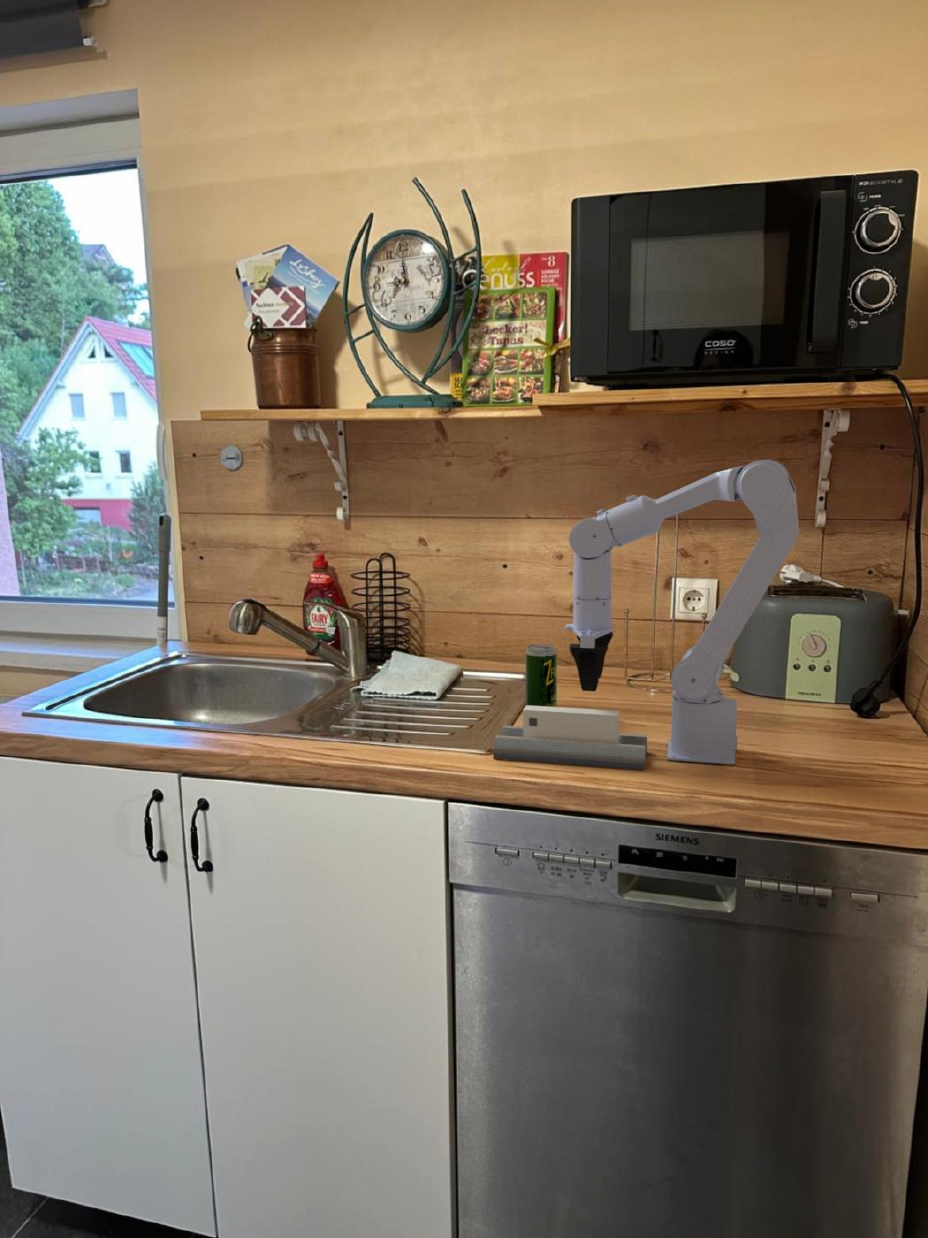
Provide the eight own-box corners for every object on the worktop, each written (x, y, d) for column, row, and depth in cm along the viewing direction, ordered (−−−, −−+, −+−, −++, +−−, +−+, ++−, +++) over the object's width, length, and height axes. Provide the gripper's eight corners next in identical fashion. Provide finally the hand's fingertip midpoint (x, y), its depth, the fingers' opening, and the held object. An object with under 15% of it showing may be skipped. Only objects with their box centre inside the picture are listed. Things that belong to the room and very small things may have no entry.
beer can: (520, 716, 144) (520, 648, 142) (533, 708, 149) (533, 642, 147) (549, 720, 142) (549, 651, 140) (561, 712, 146) (561, 645, 144)
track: (647, 751, 126) (647, 732, 125) (644, 770, 118) (644, 750, 118) (505, 741, 131) (504, 723, 131) (493, 758, 124) (493, 739, 123)
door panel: (618, 749, 124) (619, 710, 123) (617, 755, 122) (618, 715, 120) (526, 742, 128) (526, 705, 127) (523, 748, 125) (523, 709, 124)
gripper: (571, 589, 134) (571, 671, 137) (559, 604, 120) (559, 695, 123) (616, 590, 133) (614, 673, 135) (608, 605, 119) (607, 697, 121)
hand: (591, 684), depth 129 cm, fingers open, 7 cm apart
